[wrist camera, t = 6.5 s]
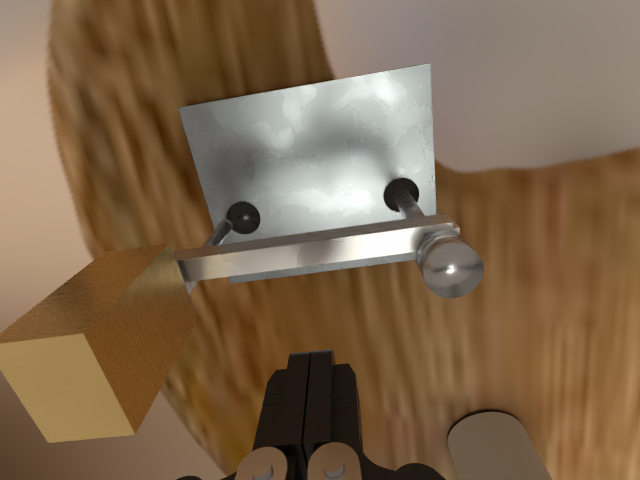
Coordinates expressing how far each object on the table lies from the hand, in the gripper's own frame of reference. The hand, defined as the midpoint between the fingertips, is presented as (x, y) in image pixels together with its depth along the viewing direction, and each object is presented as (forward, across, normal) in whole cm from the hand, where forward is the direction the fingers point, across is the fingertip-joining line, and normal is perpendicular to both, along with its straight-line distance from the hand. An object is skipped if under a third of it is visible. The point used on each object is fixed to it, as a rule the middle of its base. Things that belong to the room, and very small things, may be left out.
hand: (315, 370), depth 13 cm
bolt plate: (+18, 0, -2) cm, 18 cm away
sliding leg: (+16, +7, -2) cm, 18 cm away
